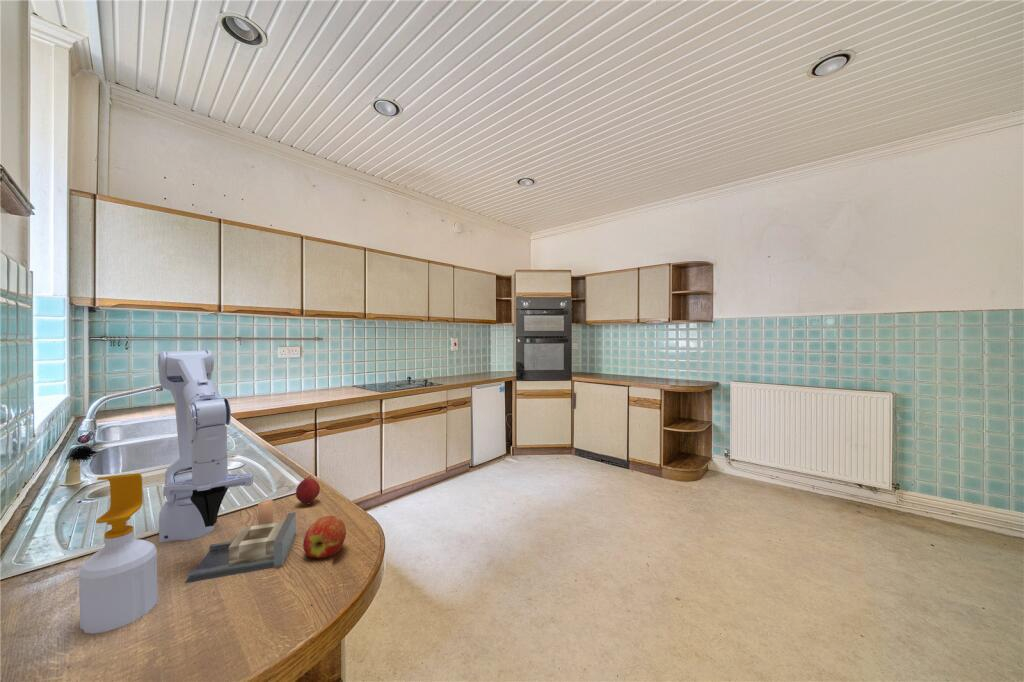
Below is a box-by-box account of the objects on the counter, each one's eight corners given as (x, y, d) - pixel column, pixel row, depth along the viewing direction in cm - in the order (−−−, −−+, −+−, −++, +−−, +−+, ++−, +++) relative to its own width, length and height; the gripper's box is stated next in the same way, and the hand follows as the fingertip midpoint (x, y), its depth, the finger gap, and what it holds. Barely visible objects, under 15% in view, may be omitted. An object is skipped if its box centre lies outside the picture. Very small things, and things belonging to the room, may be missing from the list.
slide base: (184, 588, 71) (184, 556, 71) (213, 550, 84) (213, 523, 83) (282, 571, 76) (282, 541, 76) (296, 537, 89) (295, 512, 89)
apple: (297, 567, 78) (297, 528, 77) (315, 544, 86) (314, 509, 86) (338, 565, 78) (337, 527, 78) (351, 542, 87) (351, 508, 86)
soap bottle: (66, 647, 58) (61, 487, 57) (101, 607, 66) (97, 467, 66) (142, 629, 62) (139, 478, 61) (167, 593, 70) (164, 460, 69)
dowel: (256, 535, 90) (256, 506, 89) (260, 529, 92) (260, 500, 92) (271, 533, 91) (271, 504, 91) (274, 527, 93) (274, 499, 93)
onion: (309, 509, 103) (309, 480, 102) (291, 507, 104) (290, 478, 104) (324, 500, 108) (324, 472, 108) (306, 498, 109) (306, 471, 109)
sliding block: (229, 567, 76) (228, 547, 75) (242, 545, 83) (242, 527, 83) (275, 559, 78) (275, 540, 78) (284, 539, 86) (284, 521, 86)
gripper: (154, 469, 71) (156, 541, 72) (246, 460, 77) (247, 526, 77) (172, 458, 78) (173, 523, 78) (255, 450, 83) (256, 511, 84)
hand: (211, 524), depth 78 cm, fingers closed
